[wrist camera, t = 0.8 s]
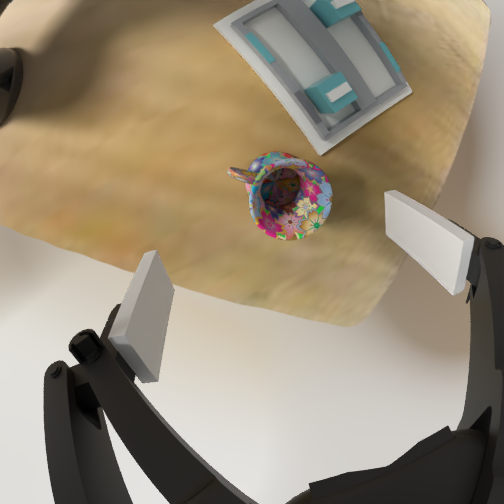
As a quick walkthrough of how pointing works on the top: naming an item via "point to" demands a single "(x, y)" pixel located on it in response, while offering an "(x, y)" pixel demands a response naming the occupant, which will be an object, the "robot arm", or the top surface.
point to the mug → (286, 195)
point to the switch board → (315, 64)
